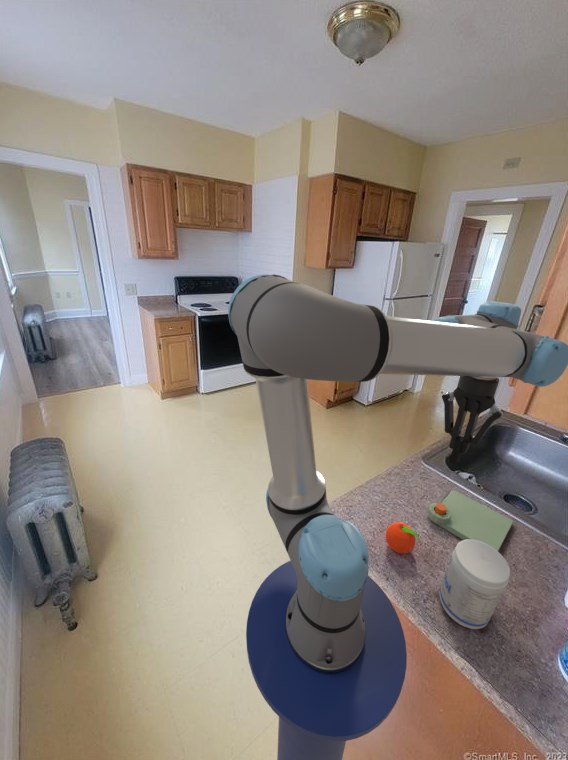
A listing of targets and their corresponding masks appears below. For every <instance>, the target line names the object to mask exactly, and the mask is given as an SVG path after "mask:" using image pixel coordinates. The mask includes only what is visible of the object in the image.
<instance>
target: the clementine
mask: <svg viewBox="0 0 568 760" xmlns="http://www.w3.org/2000/svg"><path fill="white" fill-rule="evenodd" d="M416 538H417V540H419V542H421V539H420V537H419V536H418V534H417V533H416V532H415V531H414V530H413V529H412V528H411V527H410V526H409V525H408V524H407V523H404V522H400V521H395V522H393V523H391V524H390V525H388V527H387V528H386V530H385V541H386V543H387V545H388V546H389V548H390V549H391V550H393V552H395V553H398V554H407V553H409V552H411V551H412V550H413V549H414V547H415V545H416Z"/></svg>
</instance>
